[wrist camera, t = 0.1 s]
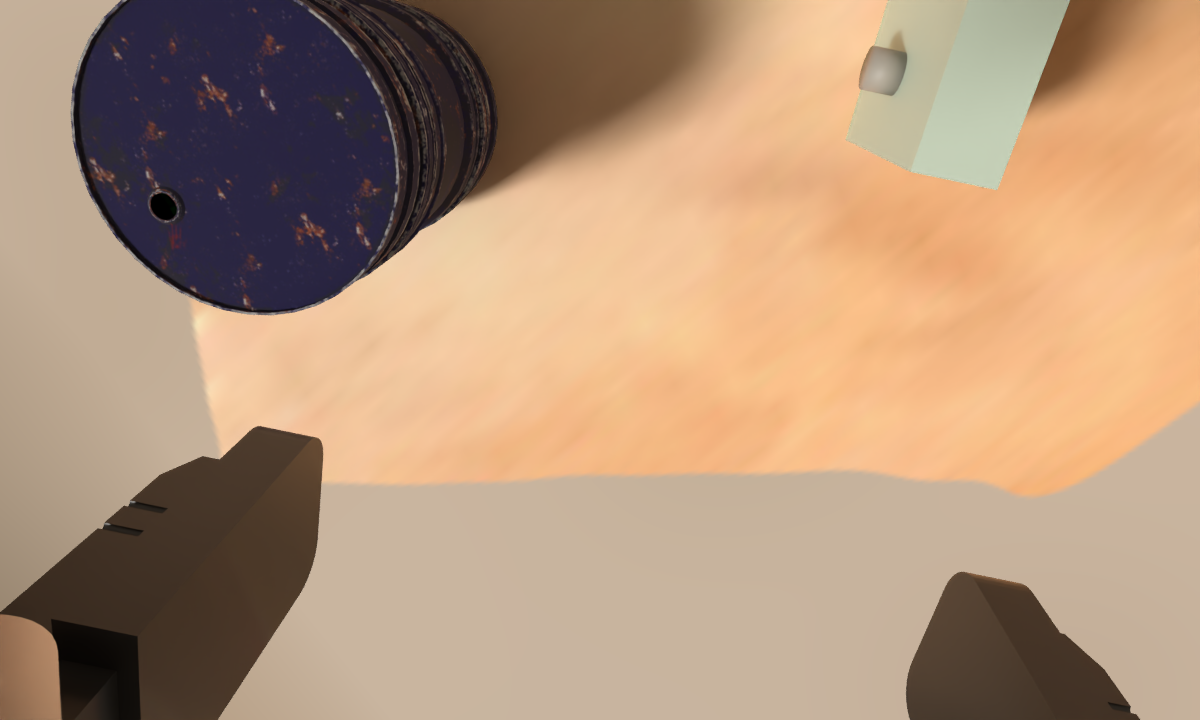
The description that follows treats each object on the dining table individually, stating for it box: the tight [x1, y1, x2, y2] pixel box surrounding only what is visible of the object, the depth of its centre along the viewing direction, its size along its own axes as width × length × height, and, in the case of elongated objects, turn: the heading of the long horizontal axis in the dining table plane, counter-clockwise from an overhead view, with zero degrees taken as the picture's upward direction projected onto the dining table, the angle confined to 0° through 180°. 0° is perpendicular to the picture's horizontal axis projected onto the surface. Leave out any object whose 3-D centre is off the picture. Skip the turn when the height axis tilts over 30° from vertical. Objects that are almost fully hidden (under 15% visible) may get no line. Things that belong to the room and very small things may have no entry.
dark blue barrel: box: [71, 0, 497, 315], centre depth 30 cm, size 10×10×15 cm
